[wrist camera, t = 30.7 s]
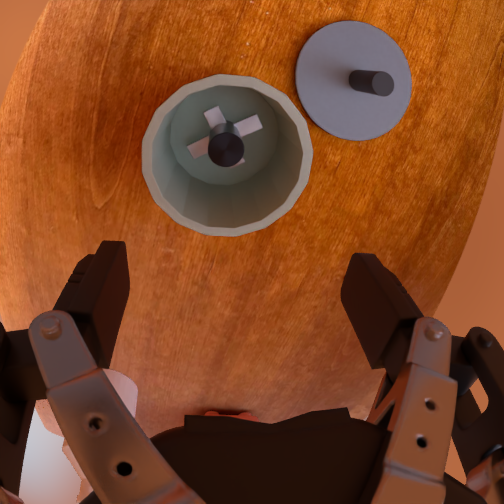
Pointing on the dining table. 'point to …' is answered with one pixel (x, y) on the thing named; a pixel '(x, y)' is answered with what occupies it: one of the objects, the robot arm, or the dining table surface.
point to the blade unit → (224, 138)
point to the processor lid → (353, 80)
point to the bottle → (129, 398)
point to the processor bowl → (224, 178)
